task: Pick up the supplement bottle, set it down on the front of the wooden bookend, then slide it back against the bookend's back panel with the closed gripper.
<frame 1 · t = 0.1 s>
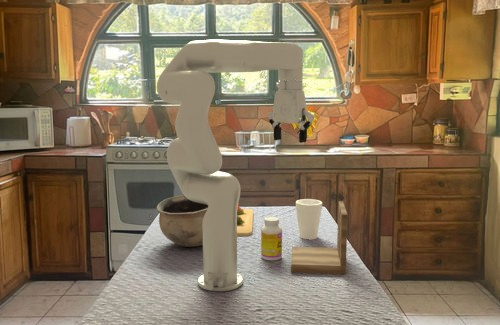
hand: (289, 141, 161), 37 cm above the table, tool pointing down, fingers open, 9 cm apart
foam cup: (308, 237, 184), on the table
ceramic bowl: (193, 243, 176), on the table
cutting board: (223, 224, 203), on the table
wooden bookend: (317, 263, 157), on the table
supplement bottle: (271, 258, 162), on the table
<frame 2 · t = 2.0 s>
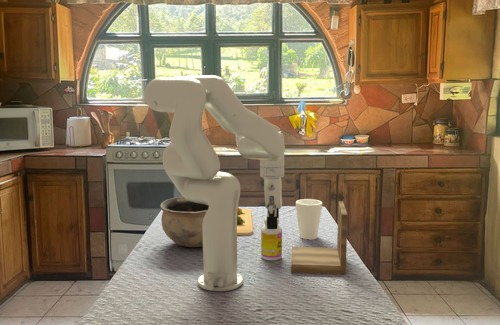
hand: (273, 223, 161), 11 cm above the table, tool pointing down, fingers open, 9 cm apart
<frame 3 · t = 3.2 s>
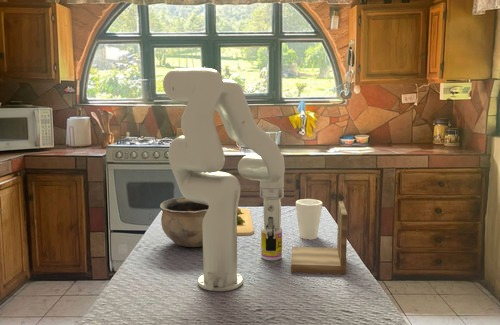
hand: (271, 246, 162), 4 cm above the table, tool pointing down, fingers closed on supplement bottle, 6 cm apart
supplement bottle: (271, 258, 162), on the table, touching gripper
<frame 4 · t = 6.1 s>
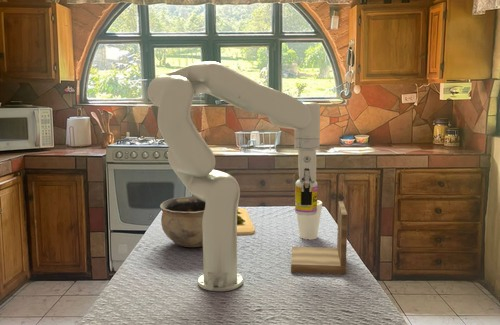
hand: (306, 201, 154), 20 cm above the table, tool pointing down, fingers closed on supplement bottle, 6 cm apart
supplement bottle: (305, 214, 155), point 16 cm above the table, touching gripper
when the fingers open (8 cm above the table, at t = 8.9 s): supplement bottle drops 1 cm, resting on wooden bookend.
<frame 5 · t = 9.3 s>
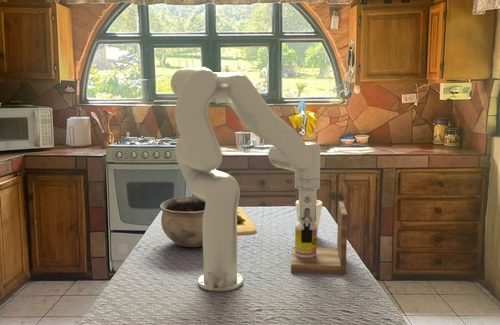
hand: (306, 237, 156), 8 cm above the table, tool pointing down, fingers open, 9 cm apart
supplement bottle: (305, 255, 157), point 2 cm above the table, touching wooden bookend
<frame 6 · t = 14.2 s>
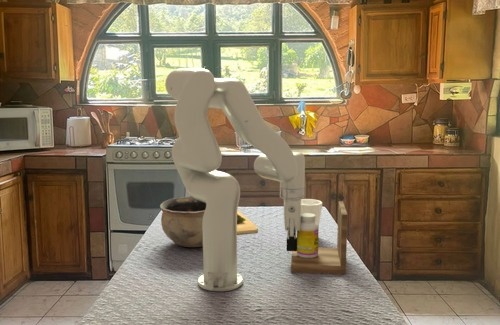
hand: (291, 250, 157), 4 cm above the table, tool pointing down, fingers closed
supplement bottle: (307, 255, 157), point 2 cm above the table, touching gripper, wooden bookend
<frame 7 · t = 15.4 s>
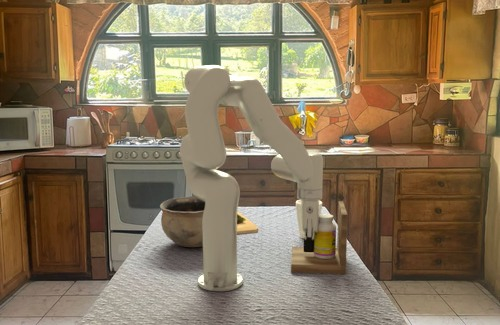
hand: (308, 251, 157), 4 cm above the table, tool pointing down, fingers closed
supplement bottle: (324, 256, 156), point 2 cm above the table, touching gripper, wooden bookend
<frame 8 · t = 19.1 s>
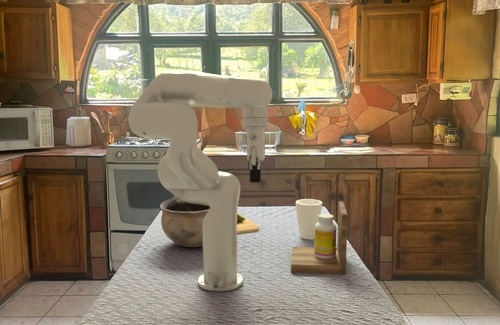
hand: (255, 181, 157), 25 cm above the table, tool pointing down, fingers closed
supplement bottle: (324, 256, 156), point 2 cm above the table, touching wooden bookend
at the end: supplement bottle inside the target area on the wooden bookend (1.2 cm from its centre), point 2.3 cm above the wooden bookend's base; supplement bottle tilted 0°; the gripper is holding nothing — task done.
